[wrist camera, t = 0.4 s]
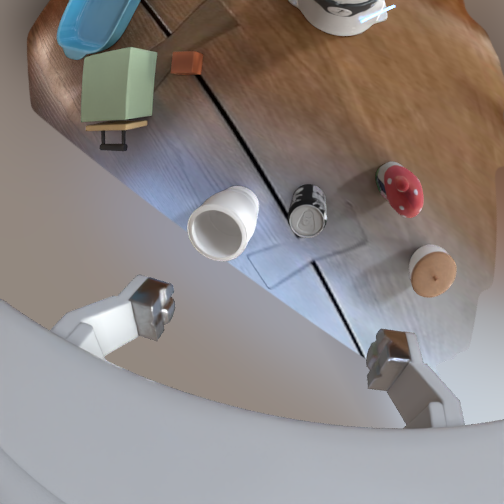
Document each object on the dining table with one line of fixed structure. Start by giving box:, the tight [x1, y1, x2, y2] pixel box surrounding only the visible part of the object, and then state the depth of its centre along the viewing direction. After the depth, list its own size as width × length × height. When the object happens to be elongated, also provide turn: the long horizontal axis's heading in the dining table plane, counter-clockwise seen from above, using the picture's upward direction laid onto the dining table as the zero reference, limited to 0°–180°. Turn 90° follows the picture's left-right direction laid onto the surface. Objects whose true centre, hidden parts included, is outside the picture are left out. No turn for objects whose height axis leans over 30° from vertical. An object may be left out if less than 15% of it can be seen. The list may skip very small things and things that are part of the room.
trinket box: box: [409, 244, 456, 297], centre depth 51 cm, size 11×11×9 cm
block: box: [171, 51, 203, 75], centre depth 44 cm, size 4×4×4 cm
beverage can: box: [288, 184, 327, 238], centre depth 50 cm, size 7×7×12 cm
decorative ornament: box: [375, 162, 423, 218], centre depth 42 cm, size 9×7×15 cm
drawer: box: [86, 120, 147, 151], centre depth 49 cm, size 19×12×8 cm, turn 174°
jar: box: [187, 186, 259, 261], centre depth 53 cm, size 11×10×15 cm
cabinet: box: [81, 47, 157, 122], centre depth 46 cm, size 15×13×10 cm
